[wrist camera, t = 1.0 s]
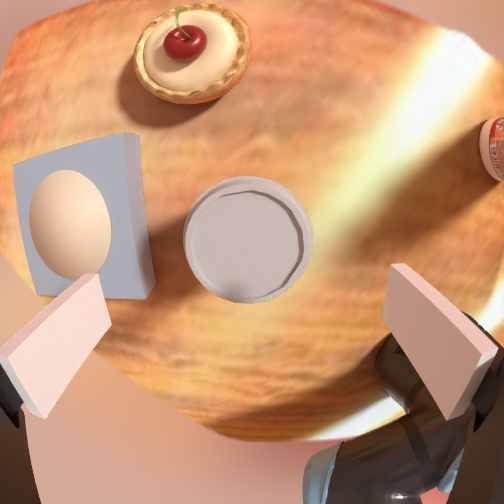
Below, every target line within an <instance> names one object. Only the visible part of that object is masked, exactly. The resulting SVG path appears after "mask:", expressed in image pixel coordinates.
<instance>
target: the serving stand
mask: <svg viewBox="0 0 504 504" xmlns="http://www.w3.org/2000/svg"><path fill="white" fill-rule="evenodd" d="M13 172H14V184H15V194H16V202H17V209H18V216H19V222H20V228H21V233H22V238H23V243H24V248H25V252H26V256H27V261H28V265H29V268H30V272H31V276H32V279H33V283H34V286H35V290H36V293H37V295H48V296H58V295H60V294H61V293H62V292H63V291H64V290H66V289H67V288H68V287H69V286H71V285H72V284H73V283H74V282H75V281H77V280H78V279H79V278H80V277H82V276H83V275H84V274H86V273H98V275H99V280H100V284H101V288H102V292H103V295H104V298H108V299H146V298H147V297H148V295H149V294H150V293H151V291H152V290H153V289H154V287H155V286H156V279H155V274H154V268H153V262H152V255H151V249H150V242H149V235H148V227H147V220H146V211H145V202H144V192H143V182H142V169H141V154H140V135H137V134H131V133H125V132H124V133H119V134H115V135H110V136H106V137H101V138H97V139H93V140H89V141H85V142H82V143H78V144H74V145H71V146H67V147H64V148H61V149H57V150H54V151H51V152H48V153H45V154H42V155H39V156H36V157H33V158H30V159H28V160H25V161H22V162H19V163H17V164H14V165H13Z"/></svg>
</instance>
